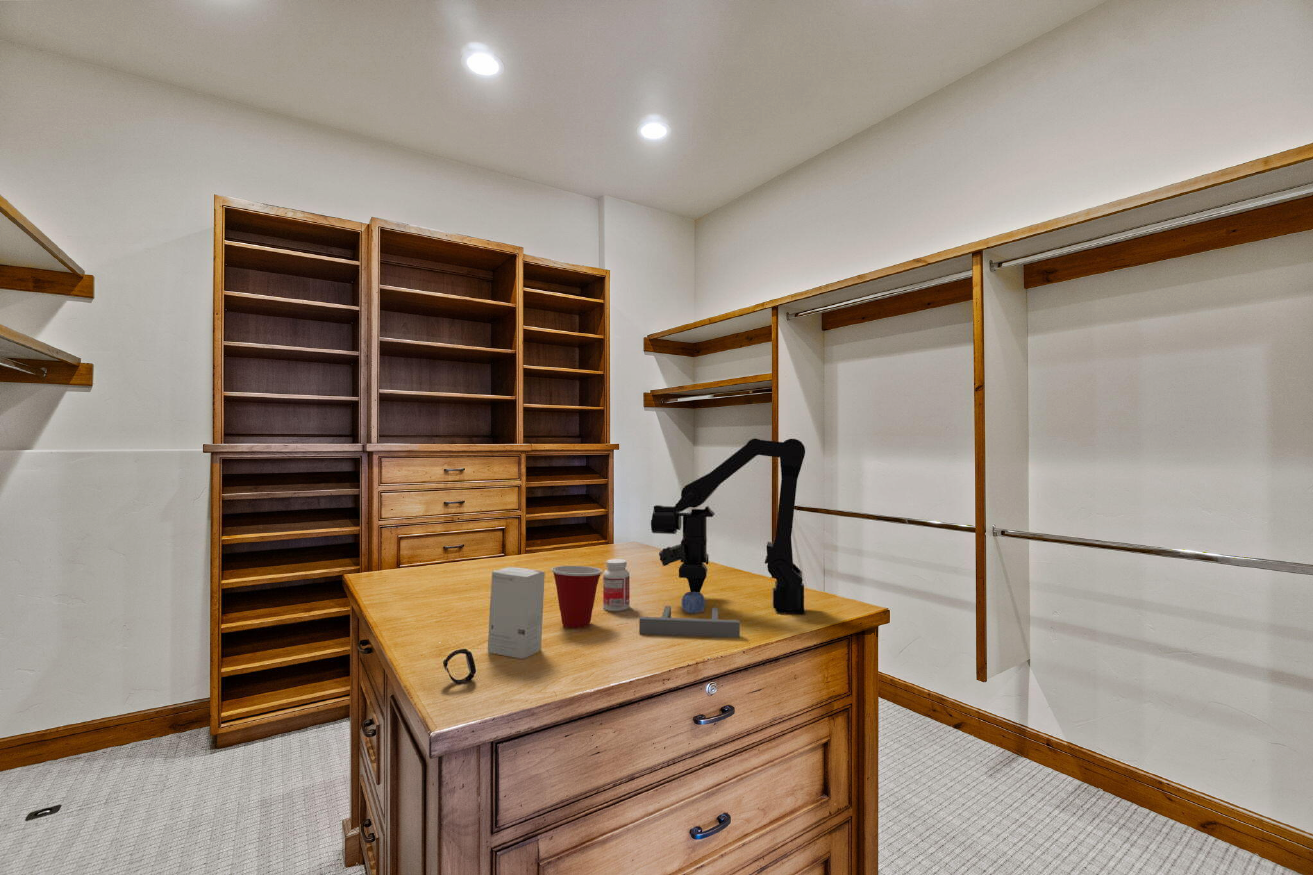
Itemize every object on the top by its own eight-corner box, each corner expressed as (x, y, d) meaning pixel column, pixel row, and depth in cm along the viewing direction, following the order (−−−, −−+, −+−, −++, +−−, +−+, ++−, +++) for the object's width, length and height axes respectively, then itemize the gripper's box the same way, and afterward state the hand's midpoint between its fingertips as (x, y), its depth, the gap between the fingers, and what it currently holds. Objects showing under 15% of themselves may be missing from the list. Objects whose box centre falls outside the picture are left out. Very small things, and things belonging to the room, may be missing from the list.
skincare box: (486, 653, 102) (487, 571, 103) (507, 643, 108) (508, 565, 108) (525, 660, 99) (526, 575, 100) (544, 649, 105) (545, 568, 105)
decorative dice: (693, 607, 133) (693, 590, 133) (705, 611, 130) (705, 593, 130) (681, 611, 130) (681, 593, 130) (693, 614, 127) (693, 596, 127)
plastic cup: (613, 624, 120) (613, 567, 120) (573, 636, 112) (573, 575, 112) (580, 613, 127) (580, 560, 128) (540, 624, 119) (541, 567, 120)
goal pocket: (738, 622, 121) (738, 608, 121) (739, 637, 111) (739, 622, 111) (645, 618, 124) (646, 605, 124) (639, 633, 114) (639, 618, 114)
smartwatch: (473, 686, 88) (473, 654, 88) (439, 687, 88) (440, 655, 88) (479, 676, 92) (480, 645, 93) (447, 677, 92) (447, 646, 92)
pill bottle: (619, 603, 136) (619, 557, 137) (634, 608, 132) (635, 561, 132) (597, 607, 132) (598, 560, 133) (612, 613, 128) (613, 564, 128)
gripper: (665, 528, 146) (665, 589, 146) (656, 540, 128) (656, 609, 127) (708, 529, 145) (708, 590, 144) (706, 541, 126) (706, 611, 126)
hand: (694, 600), depth 135 cm, fingers closed
